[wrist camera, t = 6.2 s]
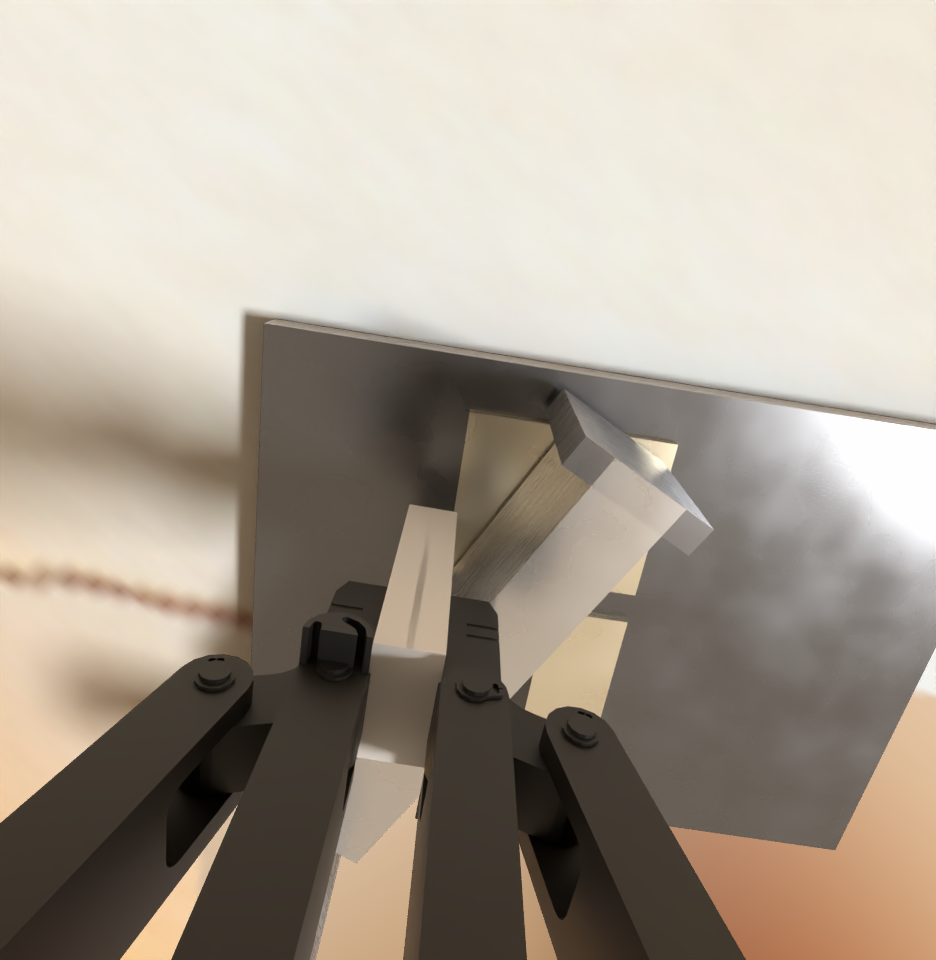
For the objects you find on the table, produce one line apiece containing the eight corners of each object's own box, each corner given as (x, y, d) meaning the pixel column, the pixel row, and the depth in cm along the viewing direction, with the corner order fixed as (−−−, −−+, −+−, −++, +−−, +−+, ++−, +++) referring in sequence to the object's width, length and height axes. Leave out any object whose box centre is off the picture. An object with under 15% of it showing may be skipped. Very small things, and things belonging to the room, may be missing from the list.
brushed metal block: (401, 756, 22) (380, 875, 18) (312, 705, 22) (270, 817, 18) (663, 461, 18) (714, 529, 14) (563, 388, 18) (585, 436, 13)
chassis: (275, 318, 19) (60, 402, 9) (1008, 436, 19) (1497, 626, 10) (256, 749, 25) (111, 1065, 15) (820, 830, 25) (1015, 1186, 16)
